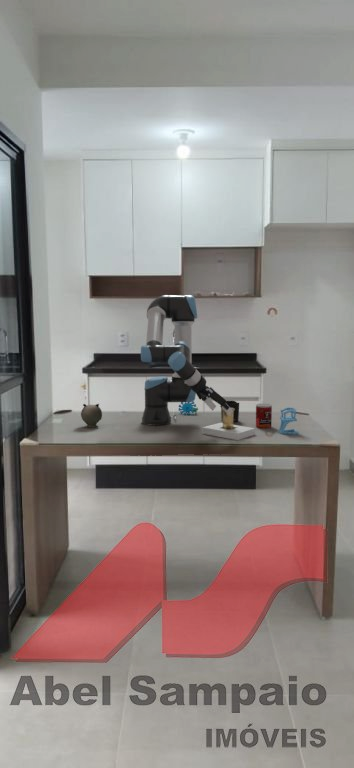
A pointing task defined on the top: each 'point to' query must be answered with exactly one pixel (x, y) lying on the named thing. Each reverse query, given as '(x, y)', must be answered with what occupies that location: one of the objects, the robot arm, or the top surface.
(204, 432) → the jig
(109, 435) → the top surface
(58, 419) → the top surface
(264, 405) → the canned food
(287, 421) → the chair
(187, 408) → the gear
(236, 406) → the pen holder
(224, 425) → the brass ball knob
